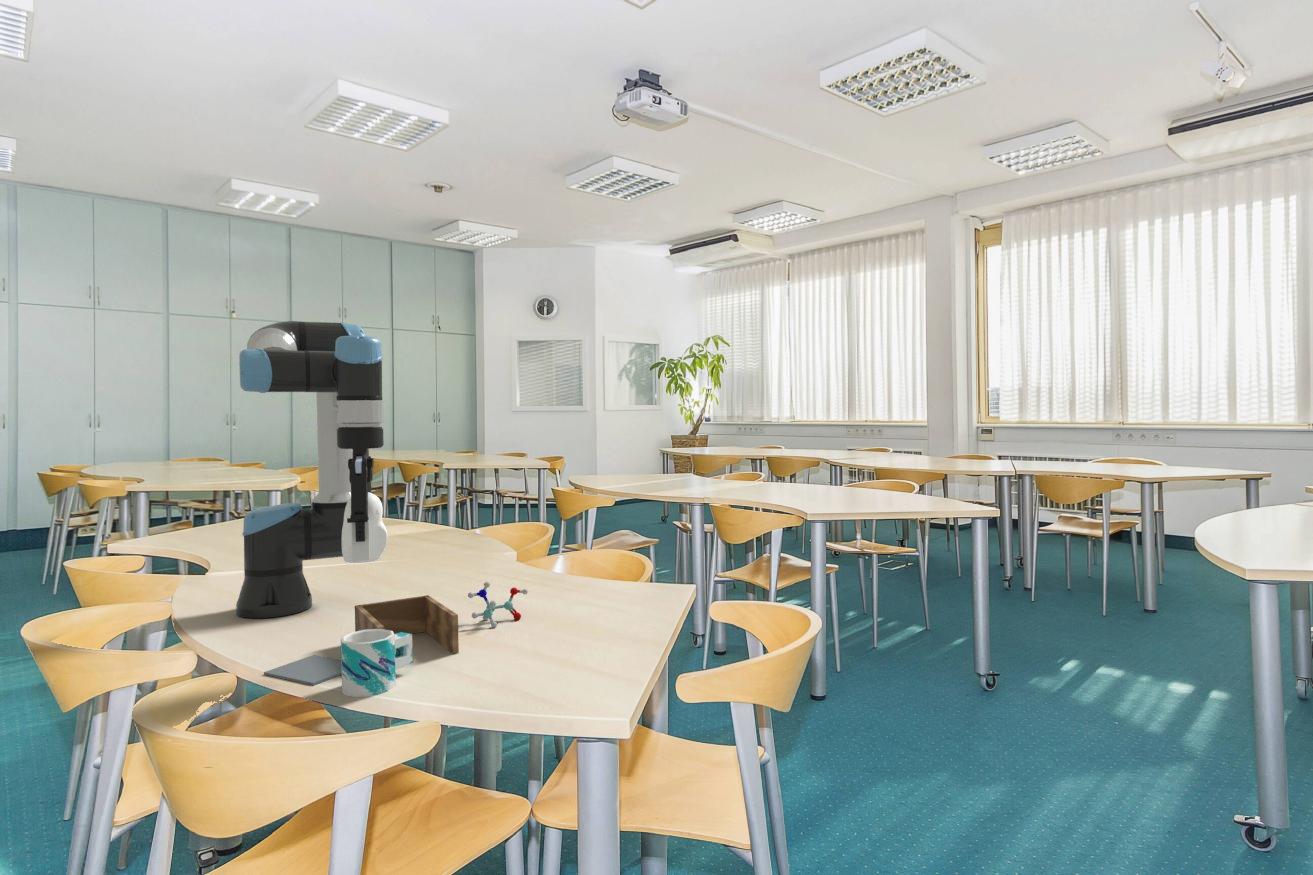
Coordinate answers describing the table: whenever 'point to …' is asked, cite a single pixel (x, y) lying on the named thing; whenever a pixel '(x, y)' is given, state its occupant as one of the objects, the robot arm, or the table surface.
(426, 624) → the walnut box
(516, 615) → the molecular model
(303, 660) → the felt mat
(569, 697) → the table surface
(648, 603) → the table surface
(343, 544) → the figurine
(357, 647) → the mug
